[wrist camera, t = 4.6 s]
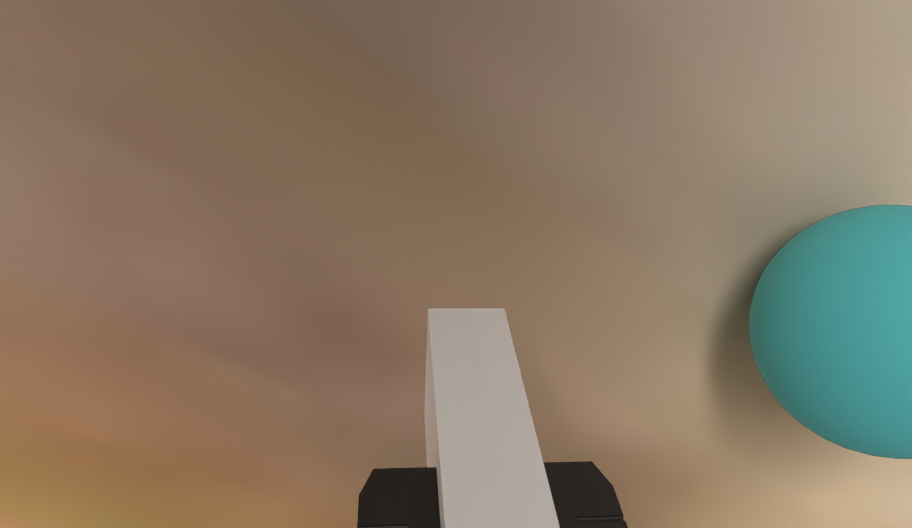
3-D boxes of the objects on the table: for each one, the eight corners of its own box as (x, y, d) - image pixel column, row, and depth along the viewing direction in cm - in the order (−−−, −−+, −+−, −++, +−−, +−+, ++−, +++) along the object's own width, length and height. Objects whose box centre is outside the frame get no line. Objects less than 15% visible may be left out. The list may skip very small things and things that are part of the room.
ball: (689, 351, 19) (791, 520, 14) (743, 163, 16) (894, 294, 11) (878, 349, 19) (1038, 511, 14) (963, 166, 16) (1196, 293, 12)
